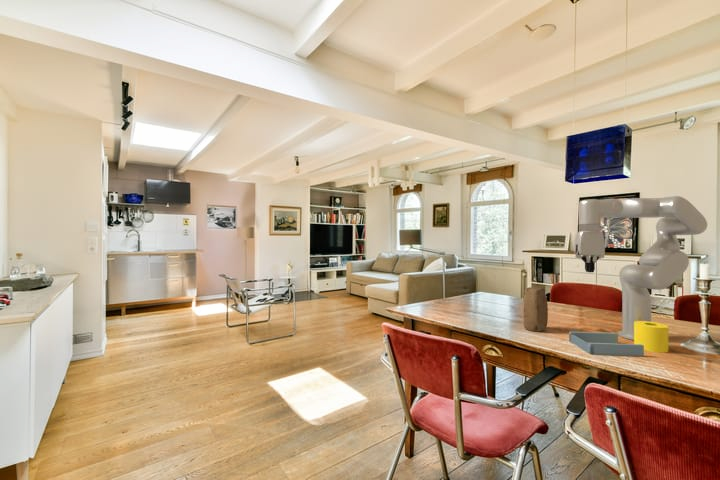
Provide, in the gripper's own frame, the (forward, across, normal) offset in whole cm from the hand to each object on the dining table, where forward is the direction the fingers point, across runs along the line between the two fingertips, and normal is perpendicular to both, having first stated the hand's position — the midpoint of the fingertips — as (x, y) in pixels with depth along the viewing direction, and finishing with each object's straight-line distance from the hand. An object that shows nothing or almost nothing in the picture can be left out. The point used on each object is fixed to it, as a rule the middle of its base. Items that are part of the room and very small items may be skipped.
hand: (589, 271), depth 136 cm
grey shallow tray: (+29, 0, +10) cm, 31 cm away
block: (+29, +16, -14) cm, 36 cm away
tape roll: (+29, -18, +8) cm, 35 cm away
